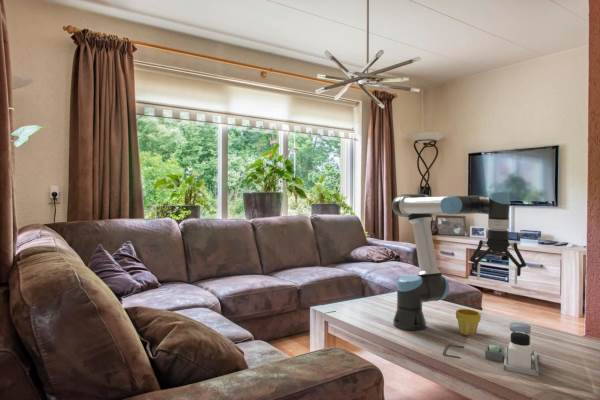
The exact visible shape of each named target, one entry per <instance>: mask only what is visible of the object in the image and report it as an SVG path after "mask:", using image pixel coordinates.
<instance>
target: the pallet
mask: <svg viewBox="0 0 600 400" xmlns="http://www.w3.org/2000/svg"><path fill="white" fill-rule="evenodd" d="M508 349H509V345H508V346H507V345H505V346H504V348H503V347H500V352H494V351H489V345H485V350H484V355H485V357H484V360H485V359H486V360H490V361H491V360H492V361H496V362H497V361H498V362H502V363H503V370H504V371H509V372H515V373H520V374H524V375H531V376H535V377H539V373H540V370H539V363H538V362H539V361H538V355H537V350H533V349H532V370H530V369H525V368H519V367H514V366H508Z"/></svg>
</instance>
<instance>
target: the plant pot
mask: <svg viewBox="0 0 600 400" xmlns="http://www.w3.org/2000/svg"><path fill="white" fill-rule="evenodd" d="M481 315H482V313H481V312H480V311H477V310H475V309H469V308H458V309H456V310H455V318H456V320H457V323H458V328H459V333H460V334H462V335H464V336H469V335H470V334H477V331H478V326H479V323H480V322H481Z"/></svg>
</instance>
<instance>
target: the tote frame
mask: <svg viewBox="0 0 600 400" xmlns="http://www.w3.org/2000/svg"><path fill="white" fill-rule="evenodd" d="M449 346H450V347H451V346H452V347H457V348H461V349H462V348H463V349H464V348H465V346H463V345H458V344H457V345H456V344H451V343H447V344H446V345H445V348H444V349H443V352H442V356H446V357H450V358H456V359H461V356H457V355H452V354H451V355H450V354H447V353H446V352H447V350H448V348H449Z"/></svg>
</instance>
